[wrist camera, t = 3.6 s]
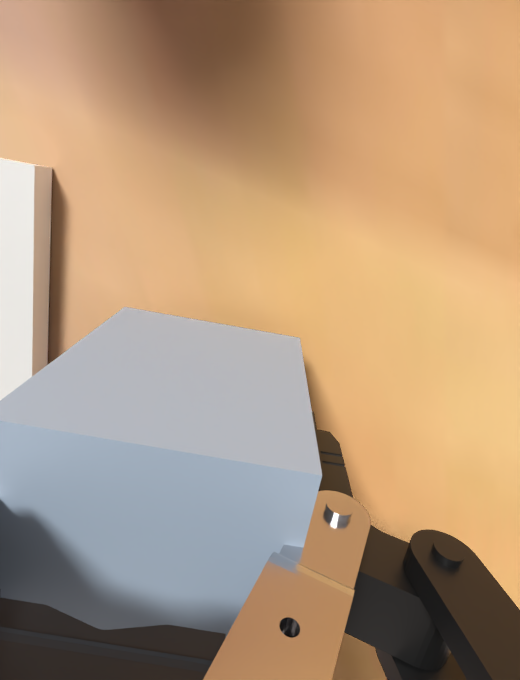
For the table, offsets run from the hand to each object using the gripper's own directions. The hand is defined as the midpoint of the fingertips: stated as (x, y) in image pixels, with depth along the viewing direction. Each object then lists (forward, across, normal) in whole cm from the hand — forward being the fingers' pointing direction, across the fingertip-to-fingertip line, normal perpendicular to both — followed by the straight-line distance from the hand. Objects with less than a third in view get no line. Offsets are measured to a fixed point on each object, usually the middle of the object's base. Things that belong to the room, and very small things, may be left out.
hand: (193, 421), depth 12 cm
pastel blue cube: (+1, 0, 0) cm, 1 cm away
